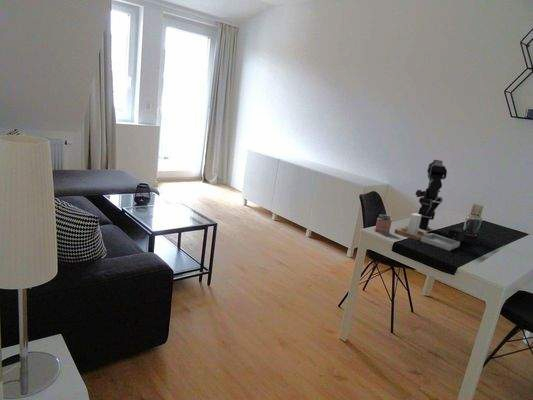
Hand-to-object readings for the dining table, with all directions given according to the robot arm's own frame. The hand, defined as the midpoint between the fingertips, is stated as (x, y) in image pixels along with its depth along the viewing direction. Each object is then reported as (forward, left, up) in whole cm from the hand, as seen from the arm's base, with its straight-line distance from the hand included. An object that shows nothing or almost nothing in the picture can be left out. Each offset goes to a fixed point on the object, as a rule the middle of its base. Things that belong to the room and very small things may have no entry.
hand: (427, 214), depth 209 cm
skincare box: (+8, -3, -12) cm, 15 cm away
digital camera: (-9, +15, -12) cm, 21 cm away
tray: (+8, +12, -12) cm, 19 cm away
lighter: (+22, -14, -12) cm, 29 cm away
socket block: (+8, -3, -12) cm, 15 cm away
